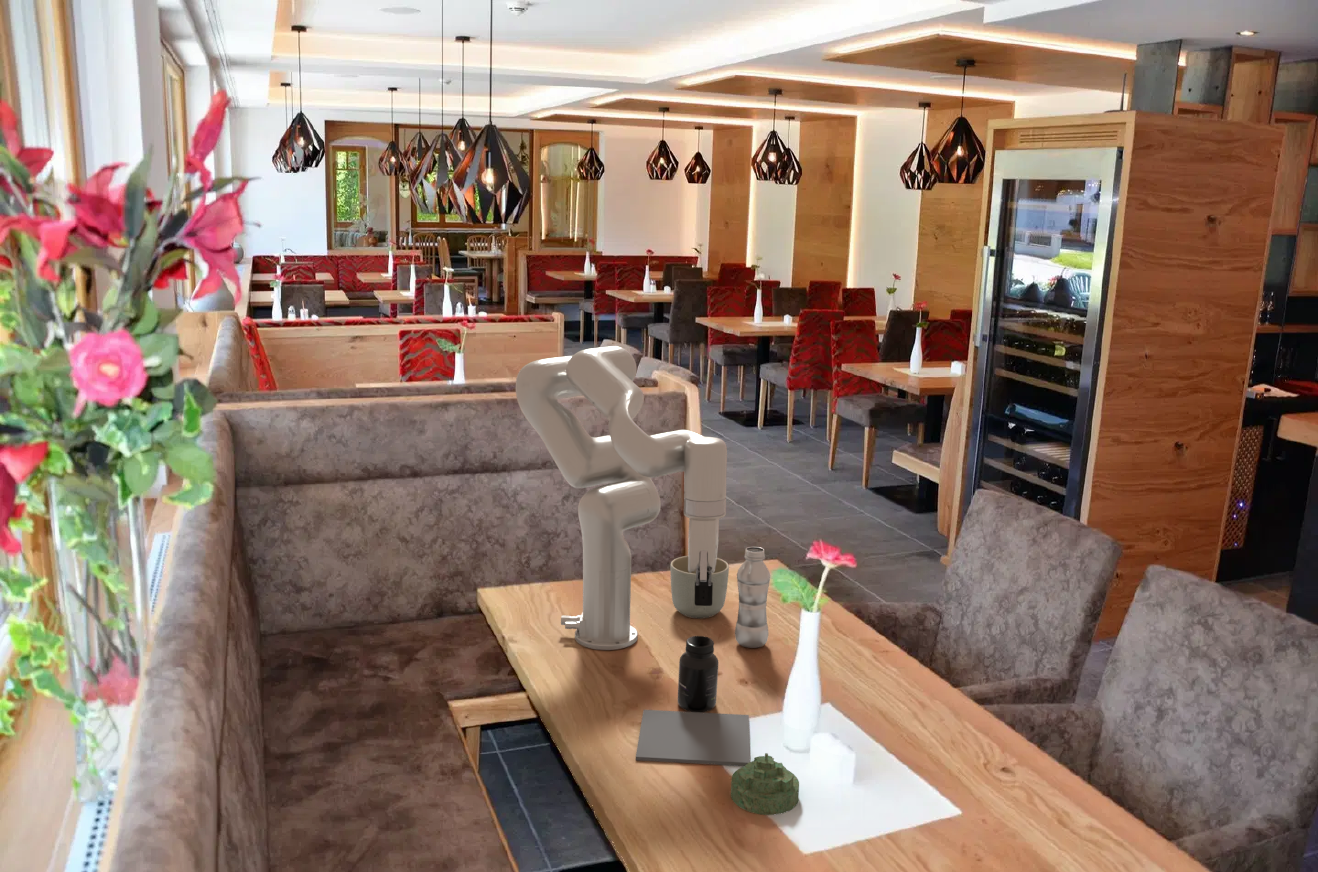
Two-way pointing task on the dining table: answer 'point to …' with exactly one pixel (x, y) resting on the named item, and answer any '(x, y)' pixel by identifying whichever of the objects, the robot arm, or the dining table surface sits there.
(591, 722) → the dining table surface
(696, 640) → the supplement bottle
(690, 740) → the mat
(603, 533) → the robot arm
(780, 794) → the decorative artifact
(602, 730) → the dining table surface
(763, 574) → the plastic bottle
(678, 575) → the planter
